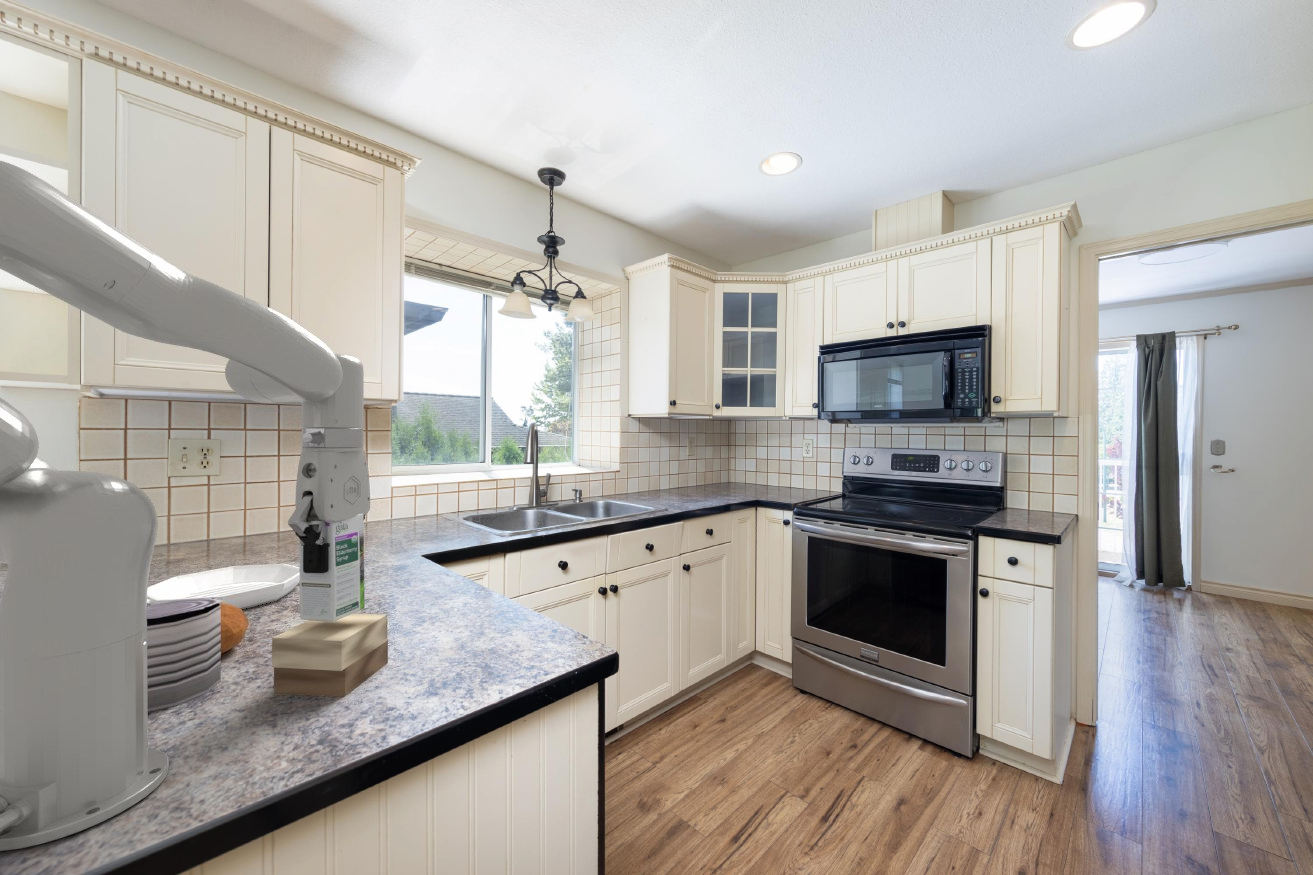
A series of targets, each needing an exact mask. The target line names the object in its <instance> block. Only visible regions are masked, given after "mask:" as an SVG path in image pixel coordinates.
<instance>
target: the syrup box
mask: <svg viewBox="0 0 1313 875" xmlns="http://www.w3.org/2000/svg"><path fill="white" fill-rule="evenodd" d="M313 520H319V518H318V517H314V519H313ZM319 521H322V520H319ZM364 523H365V520H364V516H363V513H360V514H358V515H356V516H355V517H353V518H350V519H347V520H345V521H341V522H337V523H328V532H327V535H326V539H325V542H324V543H328V572H326V573H304V572H303V545H302V544H300V539H299V538H298V540H299V541H298V544H299V545H298V552H299V553H298V555H299V557H298V558H299V560H298V561H299V563H298V564H299V565H300V566H299V568H300V582H299V618H300V619H301V620H304V621H308V620H311V621H321V622H336V621H337V620H339V619H341V618H343V617H346V616H348V615H350V614H353V613H358V612H359V611H362V610H364V609H365V607H366V605H365V542H364V541H365V537H364V536H365V532H364V529H365V527H364V526H365V525H364ZM313 529H314V530H315V531H316V532H317V533H318V529H319V526H313Z"/></svg>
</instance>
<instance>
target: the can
mask: <svg viewBox="0 0 1313 875" xmlns="http://www.w3.org/2000/svg"><path fill="white" fill-rule="evenodd" d="M222 601H223V600H219V599H216V598H202V599H190V600H178V601H171V602H166V603H160V604H155V605H149V604H148V605H147V679H148V713H150V712H155V711H159V710H164V709H168V708H174V707H177V706H179V705H181V704H185V703H187V702H189V701H192V700H194V699H197V698H199V697H201V696H204V695H206V694H208V693H209V692H211V690H213V689H214V688H215V687H216V686H217V685H219V684H220V683H221V681H222V678H221V676H222V674H221V673H222V669H221V668H222V666H221V665H222V661H221V659H222V657H221V656H222V654H221V609H220V604H219V602H222Z"/></svg>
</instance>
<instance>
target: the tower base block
mask: <svg viewBox="0 0 1313 875" xmlns="http://www.w3.org/2000/svg"><path fill="white" fill-rule="evenodd" d="M388 663H389V639H387V641H386V642H385V643H383V644H382V645H380V646H379V647H377V648H376V649H374V650H372V651H371V652H369V653H368V654H366V655H365V656H363V657H362V658H360V659H359V660H357V661H356V662H354V663H353V664H351V665H350V666H348V667H347V668H345V669H344V670H342V671H333V670H314V669H295V668H277V667H273V695H284V694H288V695H289V696H290V695H291V696H317V697H318V696H319V697H320V696H324V697H347V696H348V695H350V693H352V692H353V691H354V690H356V689H357V688H358V687H360V685H362V684H363V683H364V682H365V681H367V680H368V679H369V678H371V677H372V676H373V675H375V674H376V673H377V672H378V671H380V670H381V669H383V667H384V666H386V665H387V664H388Z"/></svg>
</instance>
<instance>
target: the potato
mask: <svg viewBox="0 0 1313 875" xmlns="http://www.w3.org/2000/svg"><path fill="white" fill-rule="evenodd" d="M219 604H220V609H221V655H222V654H224V653H225V652H227V651H228V650H230V649H232V648H234V647H236V646H237V645H239V644H240V643H242V640H243V639H244V637H245V635H246V632H247V630H248V628H249V620H248V617H247V615H246V613H245V612H244V611H243V610H241V609H239V608H237V607H236V606H233V605H229V604H226V603H219Z"/></svg>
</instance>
